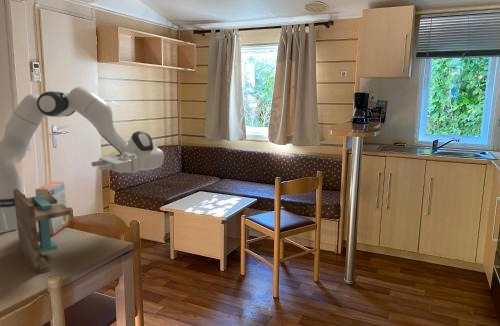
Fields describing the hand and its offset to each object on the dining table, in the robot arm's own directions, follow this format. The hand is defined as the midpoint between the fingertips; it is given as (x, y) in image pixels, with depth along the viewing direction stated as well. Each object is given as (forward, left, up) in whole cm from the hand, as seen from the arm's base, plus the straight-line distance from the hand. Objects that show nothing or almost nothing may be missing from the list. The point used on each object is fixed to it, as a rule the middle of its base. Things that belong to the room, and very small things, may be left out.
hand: (95, 166), depth 158 cm
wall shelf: (-14, -18, -31) cm, 38 cm away
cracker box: (-24, +9, -31) cm, 41 cm away
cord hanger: (-14, -18, -28) cm, 36 cm away
